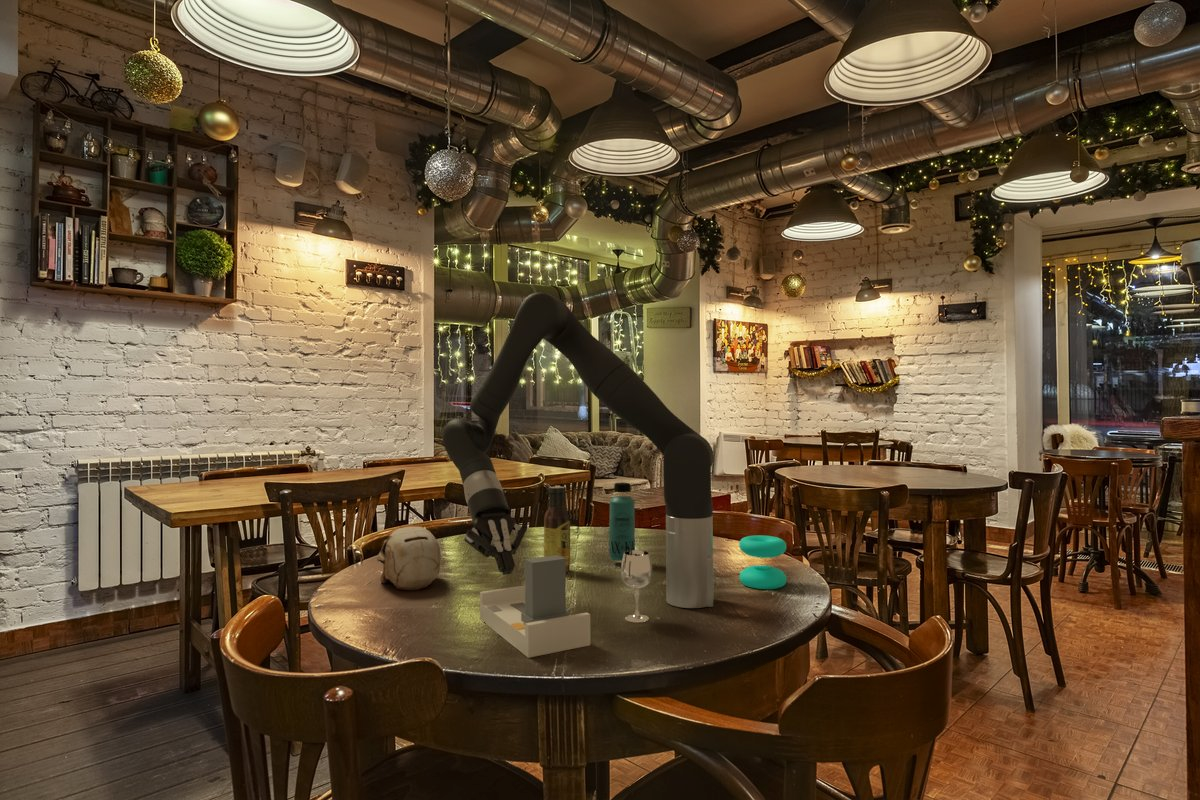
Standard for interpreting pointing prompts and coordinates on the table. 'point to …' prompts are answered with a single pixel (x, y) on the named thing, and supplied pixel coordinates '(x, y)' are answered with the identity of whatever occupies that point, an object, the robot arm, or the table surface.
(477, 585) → the table surface
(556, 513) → the sauce bottle
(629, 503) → the beverage bottle
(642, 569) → the wineglass
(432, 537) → the coin bank
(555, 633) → the tray
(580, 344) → the robot arm
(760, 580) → the donuts
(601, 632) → the table surface
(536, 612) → the switch tab
